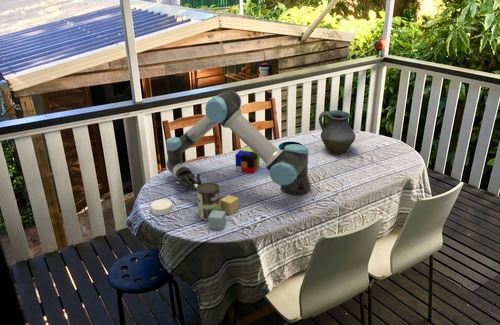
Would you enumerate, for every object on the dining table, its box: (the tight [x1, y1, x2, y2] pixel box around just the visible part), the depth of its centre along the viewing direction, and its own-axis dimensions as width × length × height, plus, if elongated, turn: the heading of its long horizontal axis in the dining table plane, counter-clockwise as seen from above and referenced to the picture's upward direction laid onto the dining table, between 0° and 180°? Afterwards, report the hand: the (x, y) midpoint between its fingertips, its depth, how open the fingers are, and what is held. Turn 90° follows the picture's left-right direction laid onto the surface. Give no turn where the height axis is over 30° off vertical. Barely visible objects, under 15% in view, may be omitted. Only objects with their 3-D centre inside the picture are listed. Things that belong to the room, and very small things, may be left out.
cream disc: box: [150, 198, 173, 216], centre depth 211 cm, size 10×10×4 cm
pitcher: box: [318, 109, 356, 155], centre depth 264 cm, size 21×22×25 cm
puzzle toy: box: [234, 147, 260, 175], centre depth 248 cm, size 10×10×10 cm
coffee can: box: [196, 181, 221, 221], centre depth 204 cm, size 10×10×14 cm
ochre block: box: [220, 194, 240, 215], centre depth 209 cm, size 6×6×6 cm
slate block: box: [207, 210, 227, 231], centre depth 197 cm, size 6×6×6 cm
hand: (200, 192), depth 212 cm, fingers closed
